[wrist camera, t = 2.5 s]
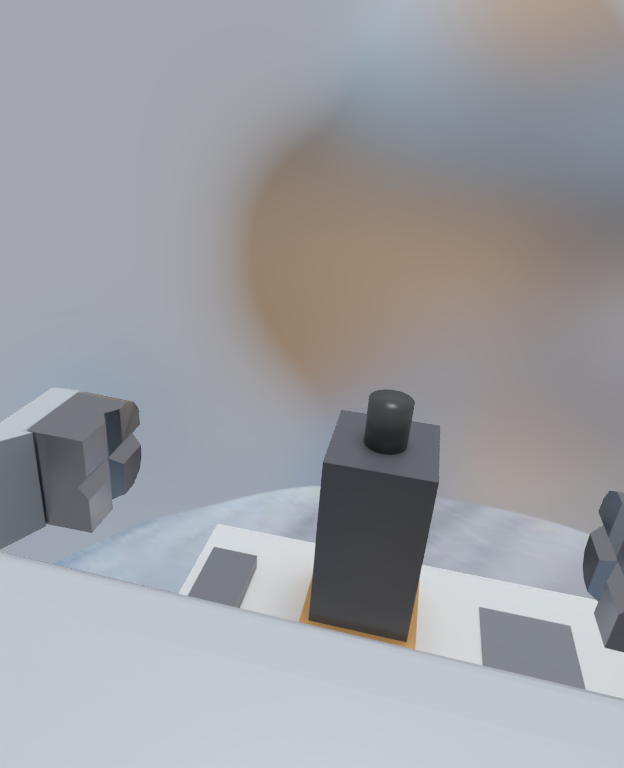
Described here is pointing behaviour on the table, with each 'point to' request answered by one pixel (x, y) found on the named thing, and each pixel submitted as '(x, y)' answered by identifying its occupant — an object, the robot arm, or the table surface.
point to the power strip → (426, 610)
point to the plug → (374, 522)
